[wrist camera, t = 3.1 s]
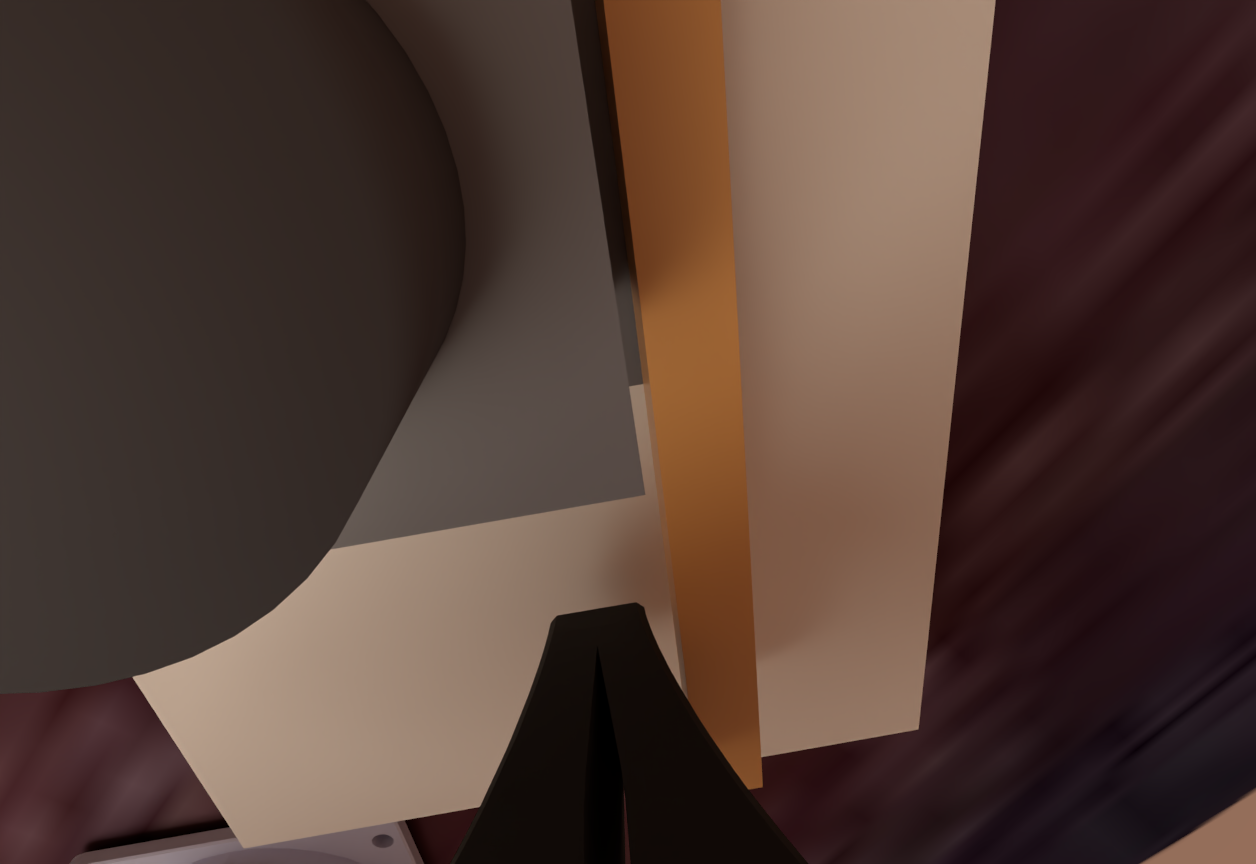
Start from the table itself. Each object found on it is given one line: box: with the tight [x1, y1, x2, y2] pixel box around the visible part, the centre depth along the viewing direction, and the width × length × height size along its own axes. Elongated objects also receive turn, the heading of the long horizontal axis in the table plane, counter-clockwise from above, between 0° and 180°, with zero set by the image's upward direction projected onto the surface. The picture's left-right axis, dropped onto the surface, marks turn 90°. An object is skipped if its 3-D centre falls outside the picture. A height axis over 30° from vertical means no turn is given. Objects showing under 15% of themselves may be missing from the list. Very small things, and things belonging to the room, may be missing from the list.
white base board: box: [133, 0, 996, 848], centre depth 10 cm, size 20×14×2 cm
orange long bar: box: [595, 0, 763, 790], centre depth 7 cm, size 16×2×2 cm, turn 7°
